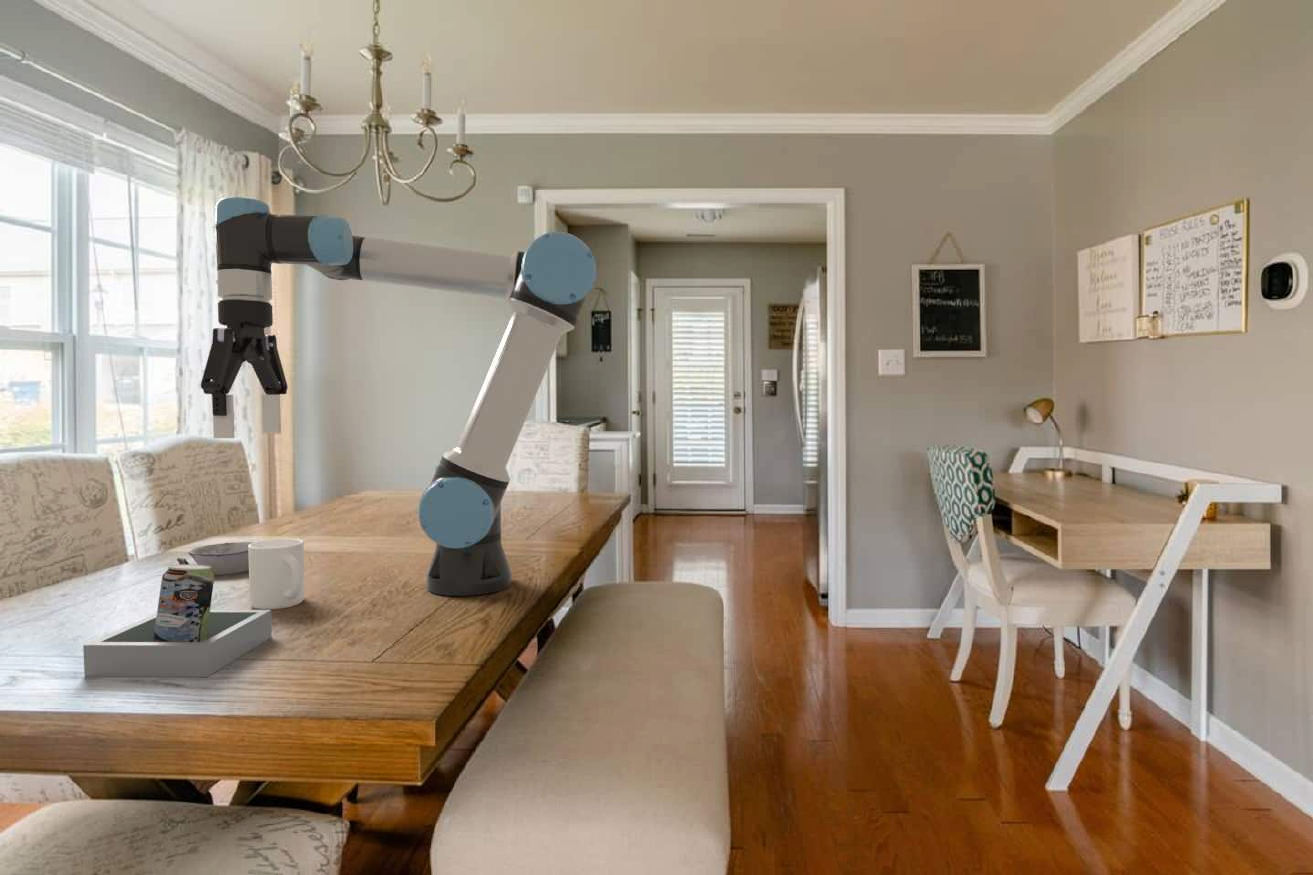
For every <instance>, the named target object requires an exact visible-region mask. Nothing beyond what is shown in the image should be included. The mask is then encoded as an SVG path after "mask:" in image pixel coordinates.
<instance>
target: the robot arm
mask: <svg viewBox="0 0 1313 875" xmlns="http://www.w3.org/2000/svg"><path fill="white" fill-rule="evenodd" d="M214 222H215V224H214V226H213V228H214V232H215V233H214V234H215V249H216V252H215V253H216V271H217V272H216V273H217V274H216V275H217V279H216V280H215V281H216V284H217V296H218V297H219V298H221V300H219V302H217V319H218V323H219V324H220V325H221V326H224V327H214V328H213V329H212V341H211V346H210V350H209V352H208V358H207V361H206V365H205V368H204V372H203V375H202V379H201V383H200V388H201V389H202V390H203V393H204V394H205V395H211V401H212V402H211V404H212V405H211V407H212V424H213V425H212V427H213V429H212V430H213V439H235V436H236V435H235V413H234V412H235V409H234V408H235V407H234V394H229V393H230V391H231V389H232V387H233V384H234V383H235V380H236V378H237V376H238V374H239V371H240V370H241V367H242V366H243V363H244V362H247V363H248V364H250V365H251V366H252V369H253V370H254V373H255V374H256V375H255V376H256V377H257V379H258V381H259V383H260V386H261V387H262V389H263V392H264V393H265V394H261V420H262V421H261V423H262V434H265V435H266V434H269V435H271V434H275V435H276V434H282V424H281V423H282V421H281V420H282V418H281V395H286V394H287V393H288V392H287V391H288V387H289V386H288V382H287V378H286V374H285V373H284V368H283V364H282V362H281V358H280V353H279V351H278V344H277V337H276V335H275V334H266V333H265V328H270V327H272V326H273V324H274V323H273V322H274V320H273V319H274V318H273V305H272V304H271V303H270V302H269V301H272V299H273V285H272V284H273V282H272V264H277V265H278V264H279V265H280V264H281V265H283V264H286V265H303V266H304V265H306V266H308V267H309V268H312V269H314V270H316V271H317V272H319V273H320V274H322V275H323V276H325V277H326V278H328V279H331V280H337V281H347V280H348V281H349V280H354V281H356V280H357V281H367V282H373V283H374V282H375V283H383V284H388V285H389V284H391V285H399V286H406V287H413V288H419V289H420V288H421V289H430V290H437V291H445V292H452V293H453V292H454V293H461V294H462V293H463V294H470V295H476V296H483V297H485V296H486V297H493V298H501V299H507V300H508V303H509V305H510V308H511V310H512V315H511V317H510V320H509V322H508V325H507V326H506V330H505V331H504V335H503V336H502V339H501V341H500V343H499V346H498V348H497V350H496V353H495V356H494V357H493V360H492V362H491V365H490V367H489V370H488V372H487V375H486V376H485V379H484V382H483V384H482V386H481V388H480V390H479V394H478V396H477V398H476V399H475V400H476V401H475V402H474V405H473V408H472V410H471V412H470V414H469V417H468V419H467V422H466V424H465V427H464V429H463V431H462V433H461V436H460V438H459V441H458V443H457V445H456V447H454V448H452V449H450V450H448V451H446V452H444V453H443V454H442V457H441V458H440V461H439V462H438V463H437V464H436V465H435V470H434V475H433V478H432V480H431V482H430V484H429V486H428V487H427V488H426V489H425V490H424V491H423V493H422V495H421V497H420V499H419V503H418V509H417V510H418V512H417V513H418V515H417V516H418V521H419V524H420V527H421V529H422V530H423V532H424V534H426V536H427V537H428V539H430V540H431V541H433V542H434V543H435V544H436V545H435V550H434V552H433V556H432V558H431V562H430V566H429V568H428V572H427V575H426V589H427V591H429V592H430V593H432V594H436V595H441V596H452V597H453V596H454V597H467V596H468V597H469V596H479V595H488V594H493V593H496V592H500V591H502V590H503V591H504V590H505V589H507V588H509V587H510V586H511V585H512V571H511V567H510V565H509V561H508V559H507V557H506V553H505V551H504V548H503V545H502V501H503V499H504V496H505V493H506V491H507V489H508V486H509V484H510V481H511V478H510V474H509V473H508V470H507V465H508V463H509V460H510V458H511V455H512V453H513V450H514V448H515V445H516V444H517V441H518V439H519V436H520V434H521V431H522V429H523V428H524V425H525V422H526V420H527V417H528V414H529V413H530V410H531V408H532V406H533V403H534V400H535V399H536V396H537V393H538V392H539V388H540V386H541V384H542V381H543V379H544V378H545V374H546V372H547V369H548V368H549V366H550V363H551V361H552V358H553V356H554V353H555V351H556V349H557V347H558V343H559V342H560V339H561V337H562V336H563V335H564V334H566V333H567V332H570V331H572V330H574V329H575V327H576V325H577V324H578V321H579V318H580V316H581V313H582V311H583V309H584V306H585V304H586V301H587V299H588V297H589V295H590V292H591V290H593V287H594V286H595V282H596V279H597V272H598V271H597V269H598V268H597V263H596V261H595V260H596V259H595V257H594V255H593V252H592V251H591V249H590V248H589V246H588V245H587V244H586V243H585V242H584V241H583V240H582V239H580V238H579V237H577V236H576V235H574V234H571V233H568V232H564V231H552V232H547V233H544V234H542V235H540V236H538V237H536V238H535V239H534V240H533V241H532V242H531V243H530V244H529V246H528V247H527V248H526V249H525V251H515V252H514V253H513V254H511V255H504V254H503V255H502V254H496V253H488V252H479V251H472V250H465V249H458V248H450V247H445V246H443V247H442V246H436V245H435V246H434V245H427V244H419V243H414V242H413V243H412V242H404V241H399V240H397V241H396V240H389V239H381V238H376V237H375V238H373V237H367V236H366V237H365V236H364V237H363V236H358V235H353V233H352V228H351V227H350V224H349V222H348V221H347V220H346V219H345V218H343V217H341V216H340V217H339V216H338V217H337V216H329V215H326V214H320V215H297V214H296V215H295V214H291V215H290V214H273V213H271V210H270V206H269V205H268V204H267V203H266V202H264V201H262V200H261V199H260V200H259V199H254V198H250V197H248V198H247V197H242V196H227V197H223V198H220V199H219V200H218V201H217V202H216V205H215V221H214Z"/></svg>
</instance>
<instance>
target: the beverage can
mask: <svg viewBox="0 0 1313 875" xmlns="http://www.w3.org/2000/svg"><path fill="white" fill-rule="evenodd" d="M214 582H215V575H213V573H212V572H211V567H210V566H205V565H198V564H181V565H179V564H171V565H168V568H167V570H166V571H165V572H164V573H163V574H162V577H161V582H160V589H159V596H158V597H159V598H158V604H157V612H156V614H157V617H156V624H155V631H154V639H153V642H204V641H206V640H207V639H206V636H207V629H208V621H209V614H210V610H211V606H212V598H213V592H214Z"/></svg>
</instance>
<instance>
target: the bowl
mask: <svg viewBox="0 0 1313 875" xmlns="http://www.w3.org/2000/svg"><path fill="white" fill-rule="evenodd" d="M252 543H255V541H237V542H235V541H234V542H233V541H232V542H225V543H223V542H222V543H214V544H205V545H202V546H198V547H195V548H193V549H190V551H189V552H188V555H189V556H190V557H191V558H192V559H193V560H194V561H195V563H196V565H205V566H210V567H211V572H212V573H213V575H214V576H219V575H220V576H221V575H231V574H232V575H233V574H237V573H242V572H246V571H249V554H248V546H249V545H250V544H252Z"/></svg>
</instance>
